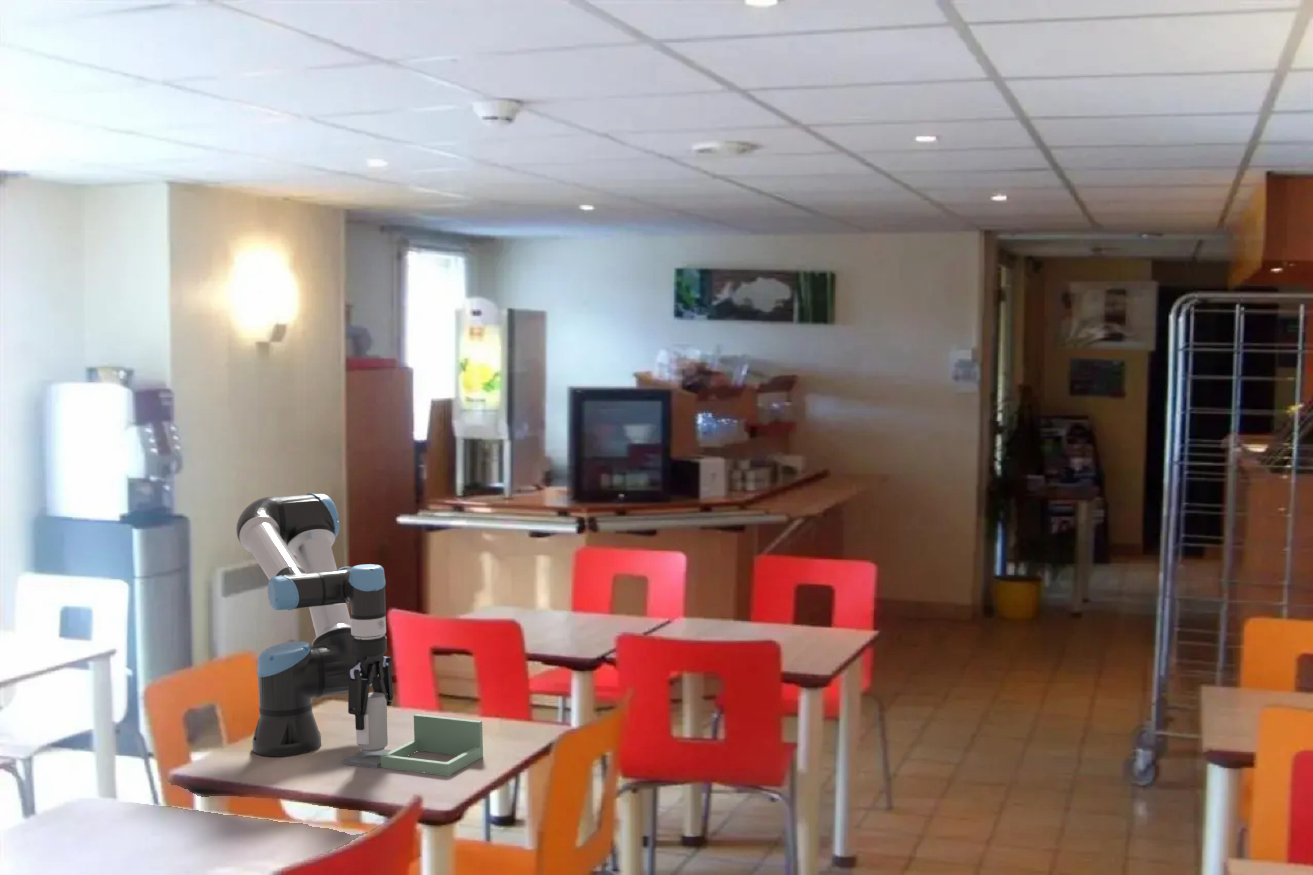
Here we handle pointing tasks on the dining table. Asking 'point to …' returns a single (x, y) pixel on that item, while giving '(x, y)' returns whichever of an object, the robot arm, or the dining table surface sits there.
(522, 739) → the dining table surface
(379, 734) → the beverage can
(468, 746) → the green tray
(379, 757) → the mat
